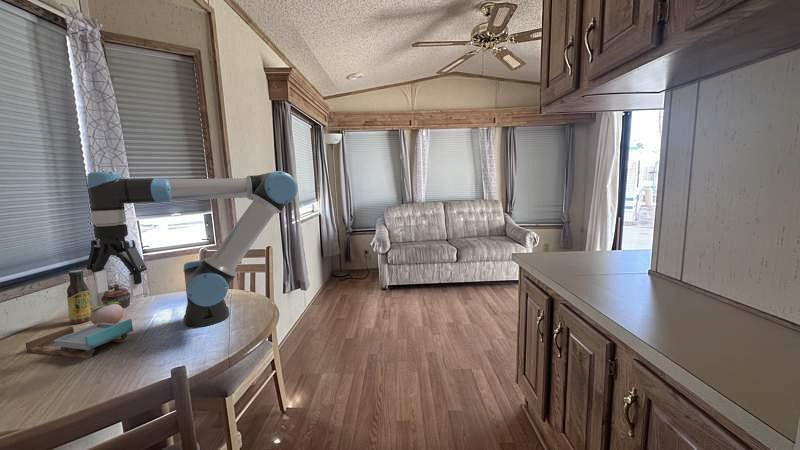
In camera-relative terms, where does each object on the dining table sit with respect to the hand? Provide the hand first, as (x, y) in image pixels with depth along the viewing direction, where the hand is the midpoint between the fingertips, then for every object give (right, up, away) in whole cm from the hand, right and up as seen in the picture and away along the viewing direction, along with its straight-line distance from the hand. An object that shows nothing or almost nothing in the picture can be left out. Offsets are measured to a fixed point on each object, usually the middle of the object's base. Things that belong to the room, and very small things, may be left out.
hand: (119, 293), depth 100 cm
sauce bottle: (-37, -17, +27) cm, 49 cm away
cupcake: (-35, -15, +41) cm, 56 cm away
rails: (-18, -19, +6) cm, 27 cm away
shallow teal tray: (-12, -17, +5) cm, 21 cm away
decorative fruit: (-21, -17, +20) cm, 33 cm away
